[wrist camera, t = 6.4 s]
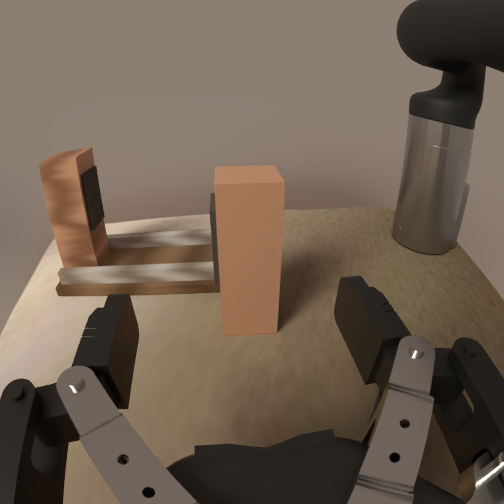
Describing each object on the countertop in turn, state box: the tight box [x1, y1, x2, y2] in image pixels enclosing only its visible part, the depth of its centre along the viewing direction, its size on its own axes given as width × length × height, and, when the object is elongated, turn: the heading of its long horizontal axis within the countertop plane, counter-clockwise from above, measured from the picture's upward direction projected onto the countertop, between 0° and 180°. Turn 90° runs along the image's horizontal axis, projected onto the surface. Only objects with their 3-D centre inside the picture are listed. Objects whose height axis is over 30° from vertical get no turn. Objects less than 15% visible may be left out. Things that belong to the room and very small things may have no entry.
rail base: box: [39, 148, 220, 296], centre depth 32 cm, size 19×10×14 cm, turn 95°
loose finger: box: [210, 165, 285, 336], centre depth 25 cm, size 5×4×13 cm
